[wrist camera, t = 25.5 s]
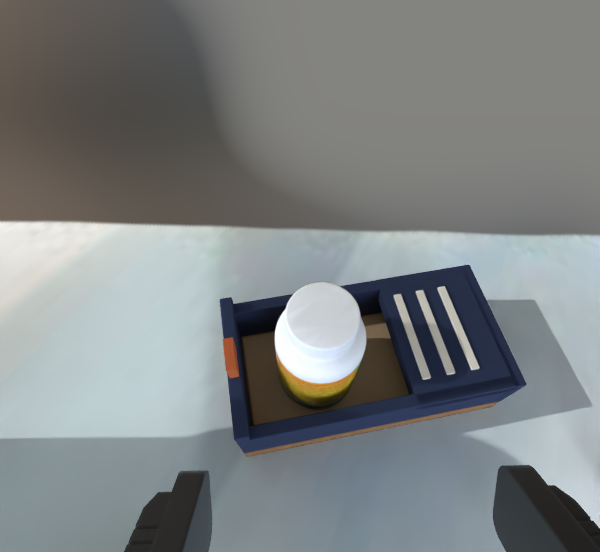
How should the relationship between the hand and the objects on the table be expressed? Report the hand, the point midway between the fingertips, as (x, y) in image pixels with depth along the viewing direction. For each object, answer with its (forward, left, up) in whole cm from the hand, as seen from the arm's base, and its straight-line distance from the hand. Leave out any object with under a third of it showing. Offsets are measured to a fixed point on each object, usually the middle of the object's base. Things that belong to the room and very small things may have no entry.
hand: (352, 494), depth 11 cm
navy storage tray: (+5, +9, -18) cm, 20 cm away
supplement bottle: (+1, +9, -17) cm, 19 cm away
